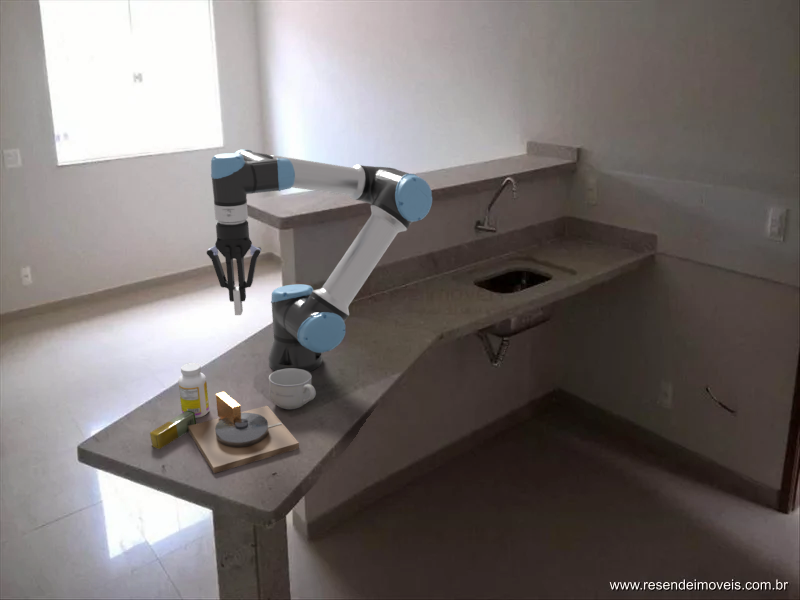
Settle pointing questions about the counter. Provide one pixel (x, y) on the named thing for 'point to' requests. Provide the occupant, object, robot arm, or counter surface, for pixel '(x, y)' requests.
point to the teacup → (291, 388)
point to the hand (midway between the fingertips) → (238, 313)
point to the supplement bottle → (193, 390)
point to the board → (233, 457)
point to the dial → (238, 424)
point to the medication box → (172, 429)
